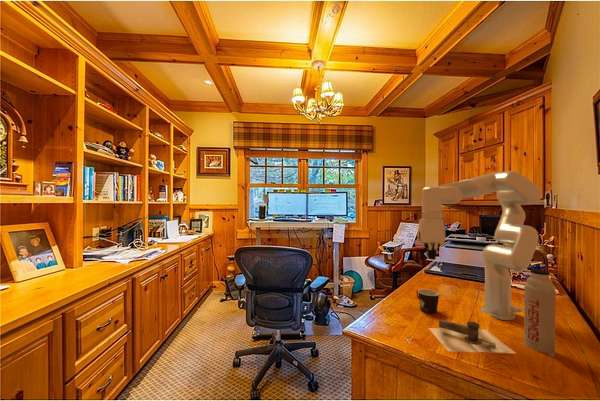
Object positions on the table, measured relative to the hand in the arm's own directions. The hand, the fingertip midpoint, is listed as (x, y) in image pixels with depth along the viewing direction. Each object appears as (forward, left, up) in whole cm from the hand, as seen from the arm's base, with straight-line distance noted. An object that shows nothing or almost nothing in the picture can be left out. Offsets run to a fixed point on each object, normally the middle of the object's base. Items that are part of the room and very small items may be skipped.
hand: (431, 258), depth 113 cm
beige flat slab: (-6, +16, -27) cm, 32 cm away
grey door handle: (-6, +16, -25) cm, 30 cm away
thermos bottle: (-28, +19, -27) cm, 44 cm away
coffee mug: (-2, -10, -27) cm, 29 cm away
